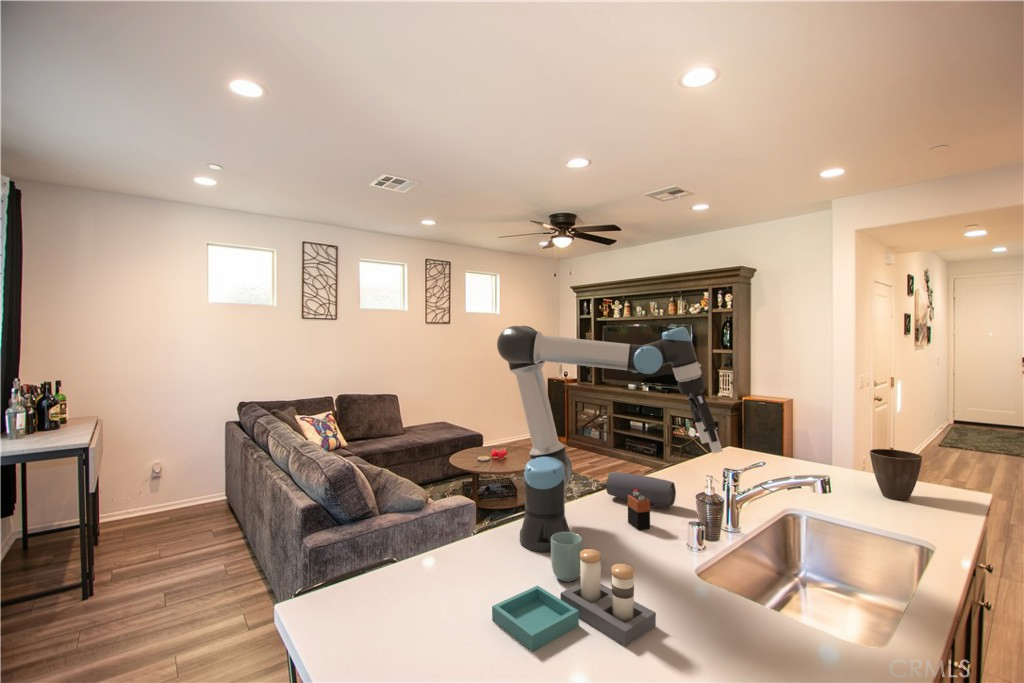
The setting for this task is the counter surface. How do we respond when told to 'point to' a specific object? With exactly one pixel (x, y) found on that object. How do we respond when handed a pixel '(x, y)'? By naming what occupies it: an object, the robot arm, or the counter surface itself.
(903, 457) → the plant pot
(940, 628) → the counter surface
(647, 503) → the battery
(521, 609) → the parts tray
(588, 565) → the cylinder
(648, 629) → the fuse holder
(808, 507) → the counter surface
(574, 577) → the cup
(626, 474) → the bluetooth speaker
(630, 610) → the fuse
